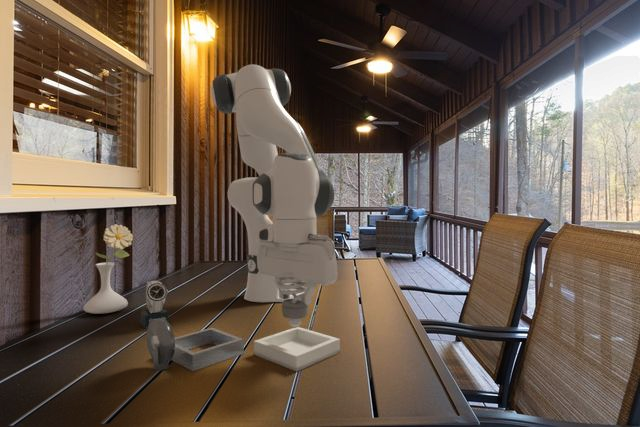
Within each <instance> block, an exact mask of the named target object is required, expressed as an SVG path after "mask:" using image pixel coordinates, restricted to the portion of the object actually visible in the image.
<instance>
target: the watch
mask: <svg viewBox="0 0 640 427" xmlns="http://www.w3.org/2000/svg"><path fill="white" fill-rule="evenodd" d="M168 294H169V290H168V289H167V287H166V286H165V285H164V284H163V283H162V281H159V280H150V281H147V282H146V286H145V303H146V307H147V309H148V310H146V311H145V310H144V311H141V312H140V325H141V326H142V327H144V328H145V329H147V328H146V327H148V325H149V323H150V322H151V321H153V320H157V319H161V318H163V319H166V320H167V321H168V322H169V312H168V310H166V309H165V308H163V306H164V304H165V302H166V297H167V295H168Z"/></svg>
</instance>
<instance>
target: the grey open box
mask: <svg viewBox="0 0 640 427" xmlns="http://www.w3.org/2000/svg"><path fill="white" fill-rule="evenodd" d="M244 340H245V339H244V338H241V337H239V336H236V335H233V334H230V333H228V332H227V331H223V330H220V329H218V328H215V327H209V328H206V329H202V330H199V331H194V332H191V333H187V334H184V335H183V334H182V335H179V336H177V337H175V334H174V331H173V328H172V326H171V324H170V323H169V320H168V321H167V320H166V319H163V318H161V319H157V320H153V321H151V322H150V323H149V325H148V328H146V343H147V344H146V345H147V348H148V353H149V355H150V357H151V359H152V365H153V367H152V368H154V370H156V371H157V372H161V371H165V370H167V369H169V362H170V361H173V362H174V363H176V364H178V365H180V366H182V367H183V368H186V369H188V370H190V371H192V372H195V371H197V370H201V369H203V368H206V367H209V366H212V365H214V364H218V363H221V362H224V361H226V360H229V359H232V358H236V357H238V356H241V355H244V354H245V352H244V350H245V347H244V345H245V344H244V343H245V342H244ZM209 344H212V345H214V346H211V347H208V348H205V349H201V350H198V351H193V349H195V348H200V347H202V346H205V345H209ZM199 346H200V347H199ZM192 348H193V349H192ZM189 349H190V350H189Z"/></svg>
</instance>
